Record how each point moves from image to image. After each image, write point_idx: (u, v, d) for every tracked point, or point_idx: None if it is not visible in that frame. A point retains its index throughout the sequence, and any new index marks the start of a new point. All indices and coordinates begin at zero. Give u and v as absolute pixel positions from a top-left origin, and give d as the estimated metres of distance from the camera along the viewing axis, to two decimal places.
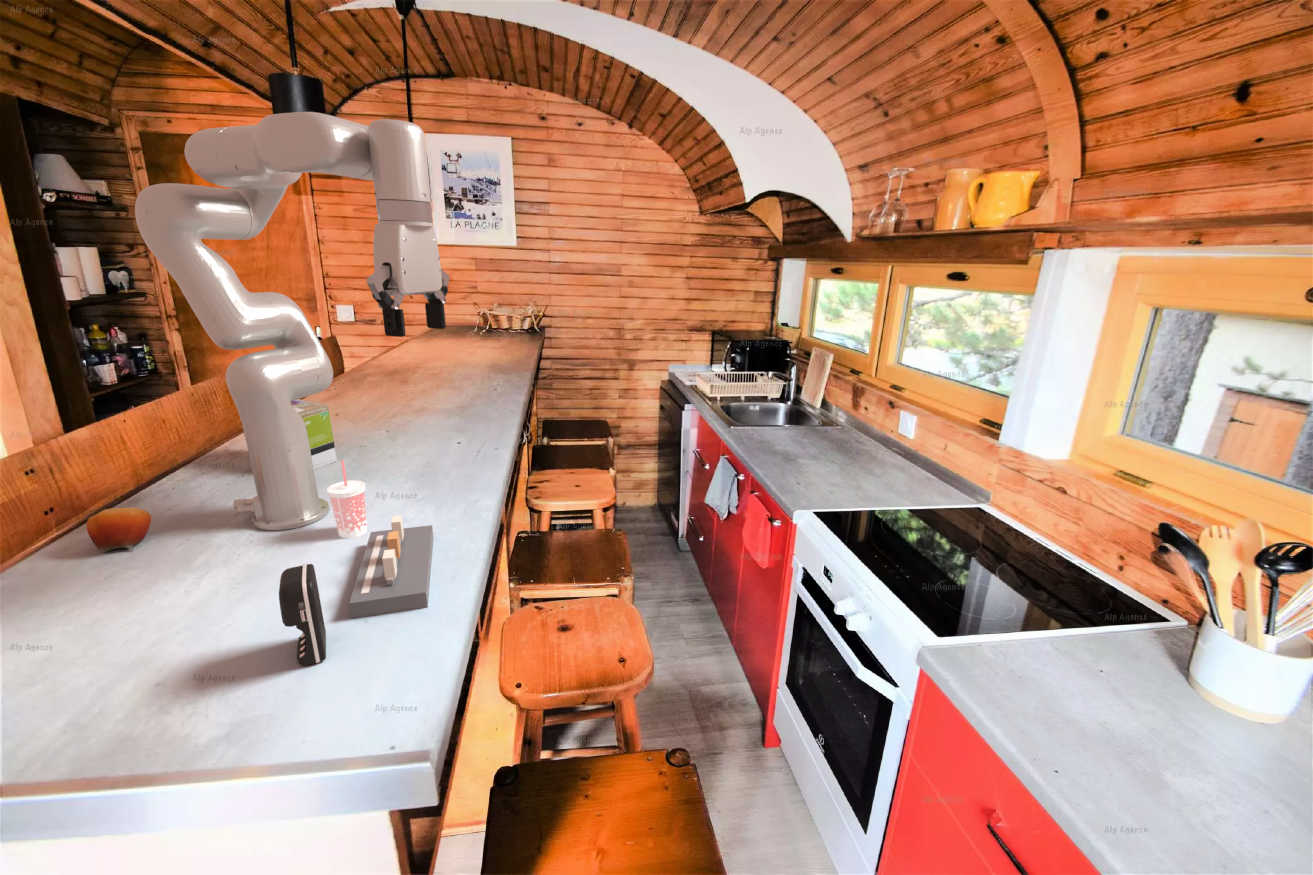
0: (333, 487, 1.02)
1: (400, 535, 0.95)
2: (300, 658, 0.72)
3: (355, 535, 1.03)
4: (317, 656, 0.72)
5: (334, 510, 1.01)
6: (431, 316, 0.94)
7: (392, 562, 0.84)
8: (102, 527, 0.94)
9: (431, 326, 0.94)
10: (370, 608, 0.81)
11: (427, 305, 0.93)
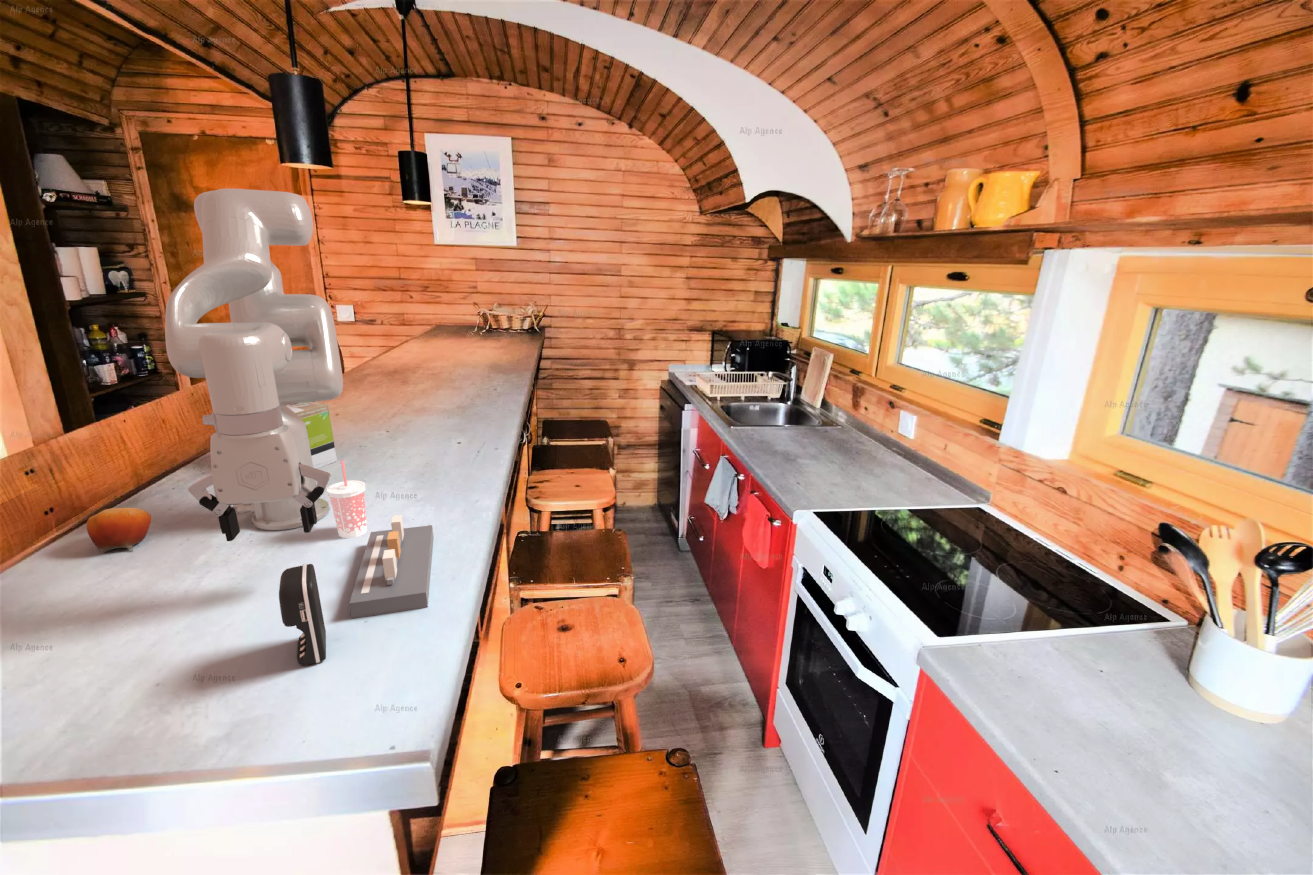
0: (332, 487, 1.02)
1: (400, 535, 0.95)
2: (300, 658, 0.72)
3: (355, 535, 1.03)
4: (317, 656, 0.72)
5: (334, 510, 1.01)
6: (232, 525, 0.82)
7: (392, 562, 0.84)
8: (102, 527, 0.94)
9: (234, 536, 0.82)
10: (370, 608, 0.81)
11: (229, 516, 0.81)
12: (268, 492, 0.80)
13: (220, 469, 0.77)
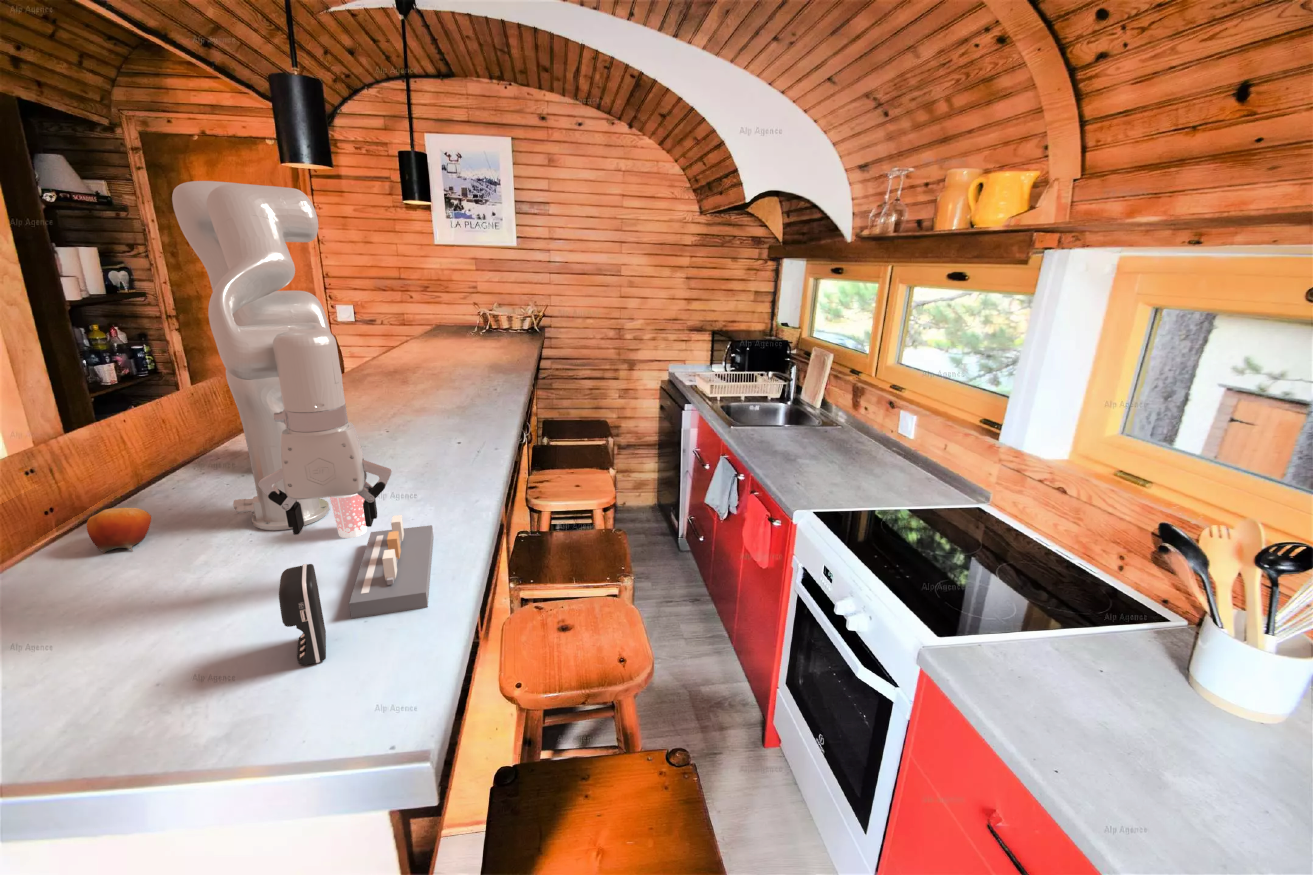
0: None
1: (400, 535, 0.95)
2: (300, 658, 0.72)
3: (355, 535, 1.03)
4: (317, 656, 0.72)
5: (334, 510, 1.01)
6: (298, 519, 0.85)
7: (392, 562, 0.84)
8: (102, 527, 0.94)
9: (300, 530, 0.85)
10: (370, 608, 0.81)
11: (295, 510, 0.84)
12: (334, 487, 0.83)
13: (290, 465, 0.80)
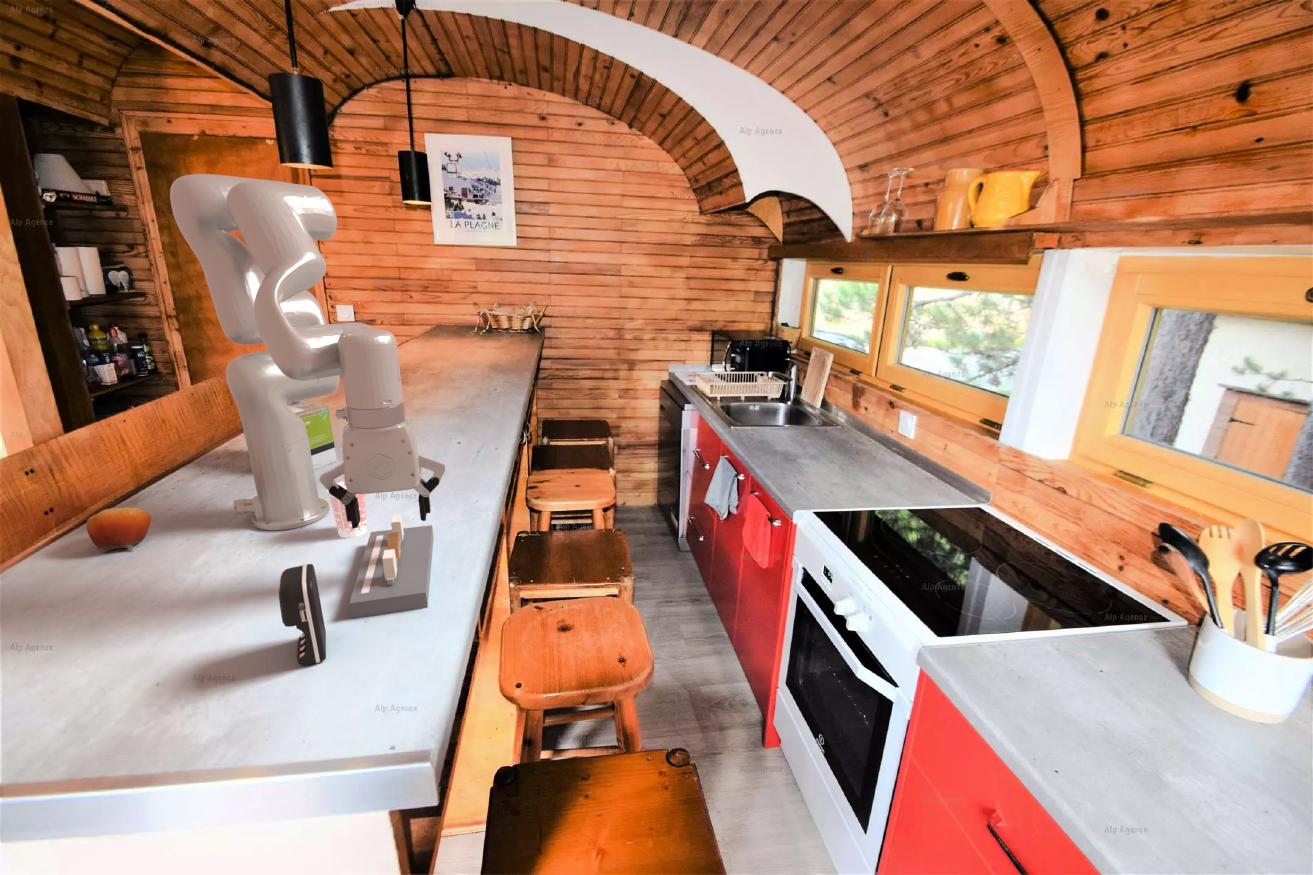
0: None
1: (400, 535, 0.95)
2: (300, 658, 0.72)
3: (355, 535, 1.03)
4: (317, 656, 0.72)
5: (334, 510, 1.01)
6: (356, 513, 0.87)
7: (392, 562, 0.84)
8: (102, 527, 0.94)
9: (358, 524, 0.87)
10: (370, 608, 0.81)
11: (354, 505, 0.86)
12: (393, 482, 0.85)
13: (352, 460, 0.82)
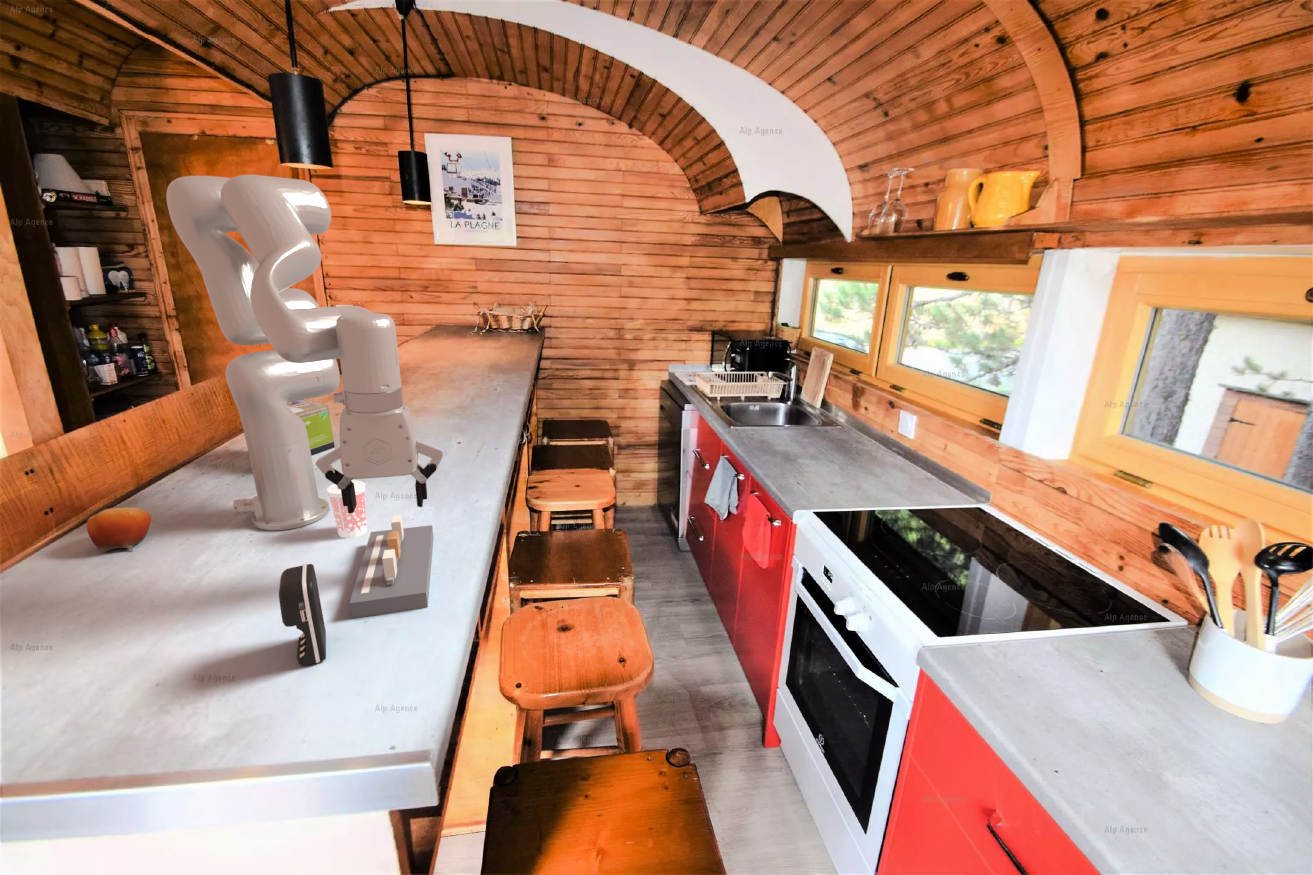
0: (333, 487, 1.02)
1: (400, 535, 0.95)
2: (300, 658, 0.72)
3: (355, 535, 1.03)
4: (317, 656, 0.72)
5: (334, 510, 1.01)
6: (353, 498, 0.87)
7: (392, 562, 0.84)
8: (102, 527, 0.94)
9: (354, 509, 0.87)
10: (370, 608, 0.81)
11: (351, 489, 0.85)
12: (390, 468, 0.84)
13: (349, 445, 0.82)
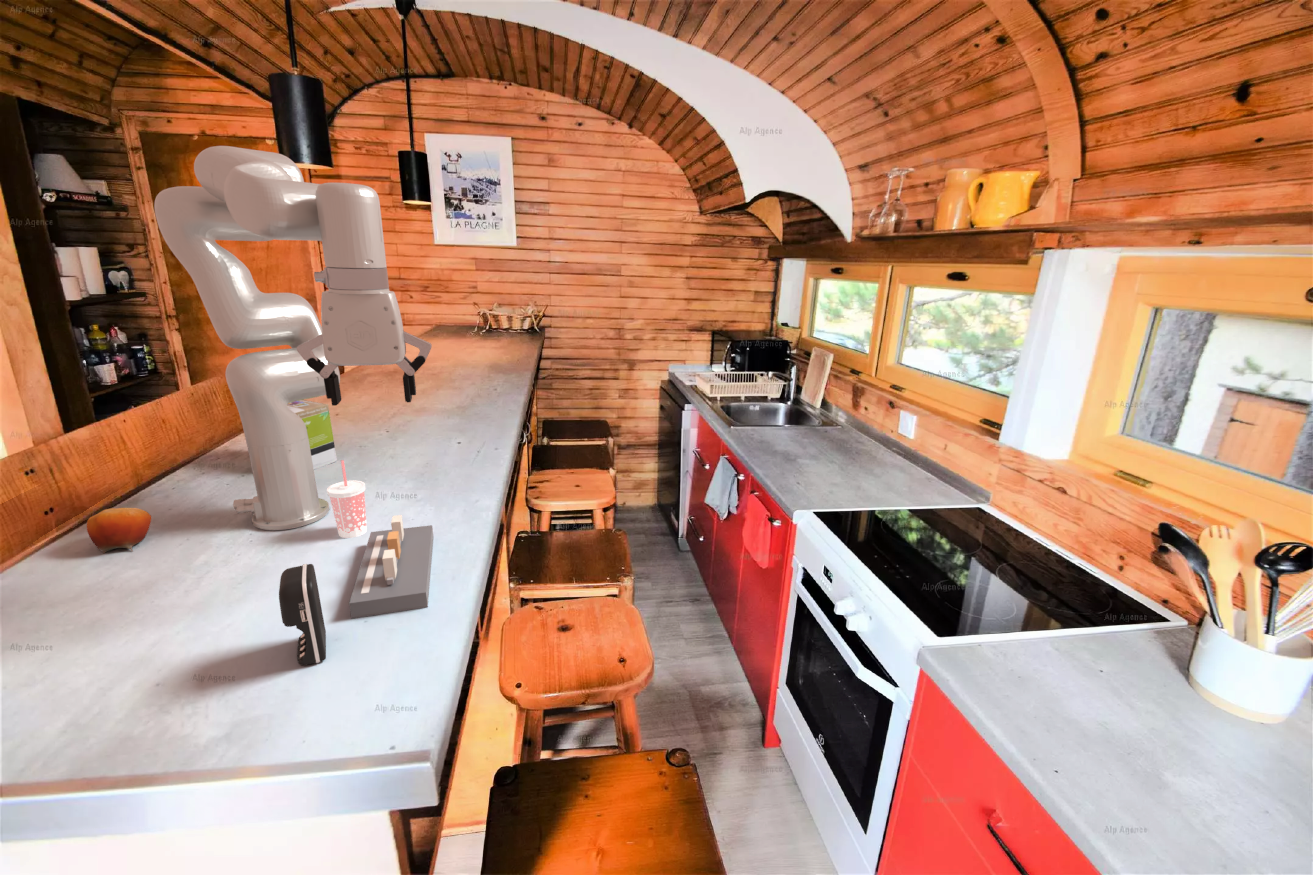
0: (333, 487, 1.02)
1: (400, 535, 0.95)
2: (300, 658, 0.72)
3: (355, 535, 1.03)
4: (317, 656, 0.72)
5: (334, 510, 1.01)
6: (337, 390, 0.82)
7: (392, 562, 0.84)
8: (102, 527, 0.94)
9: (338, 402, 0.82)
10: (370, 608, 0.81)
11: (334, 379, 0.81)
12: (375, 354, 0.80)
13: (331, 326, 0.77)
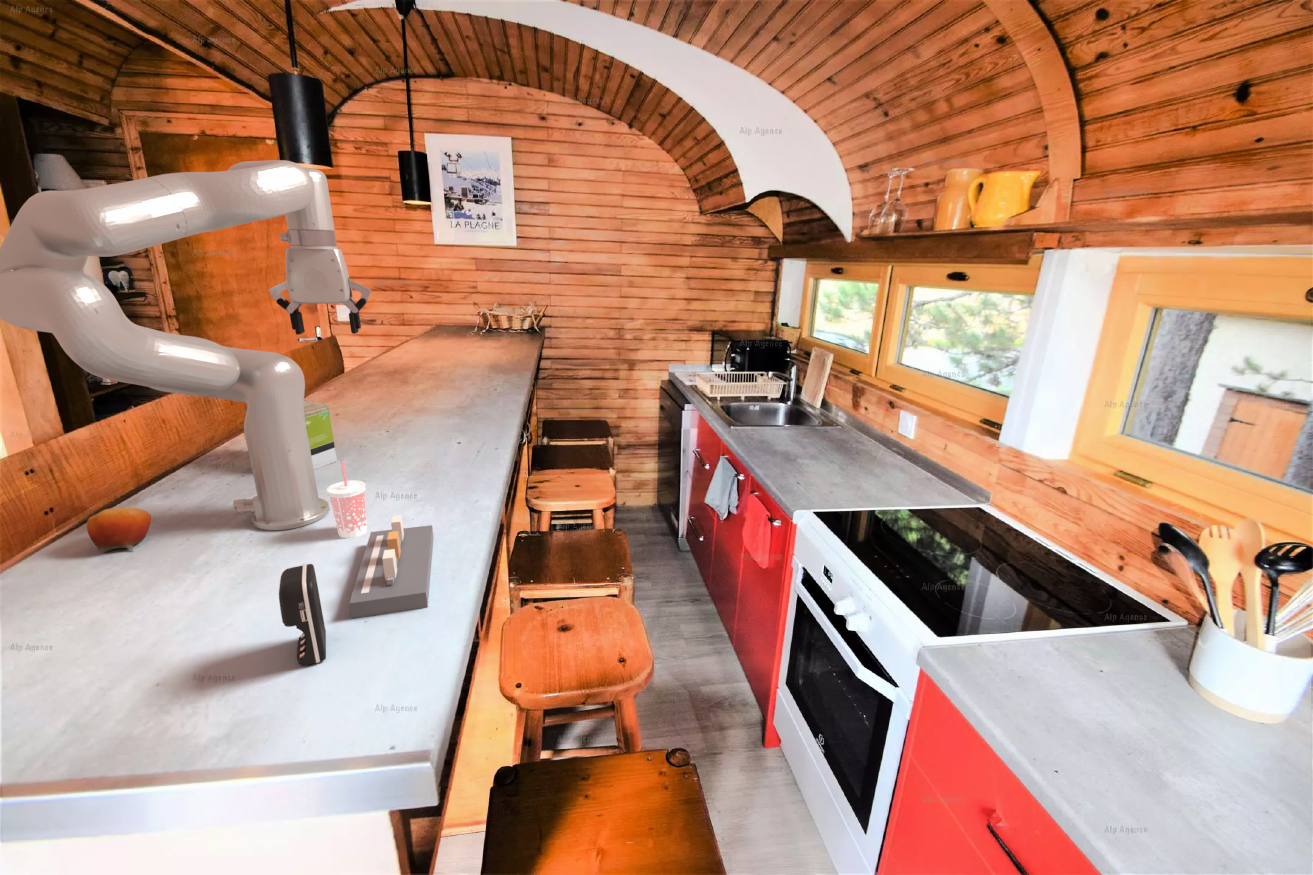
0: (333, 487, 1.02)
1: (400, 535, 0.95)
2: (300, 658, 0.72)
3: (355, 535, 1.03)
4: (317, 656, 0.72)
5: (334, 510, 1.01)
6: (300, 323, 1.10)
7: (392, 562, 0.84)
8: (102, 527, 0.94)
9: (301, 332, 1.10)
10: (370, 608, 0.81)
11: (297, 314, 1.09)
12: (326, 295, 1.08)
13: (292, 273, 1.05)
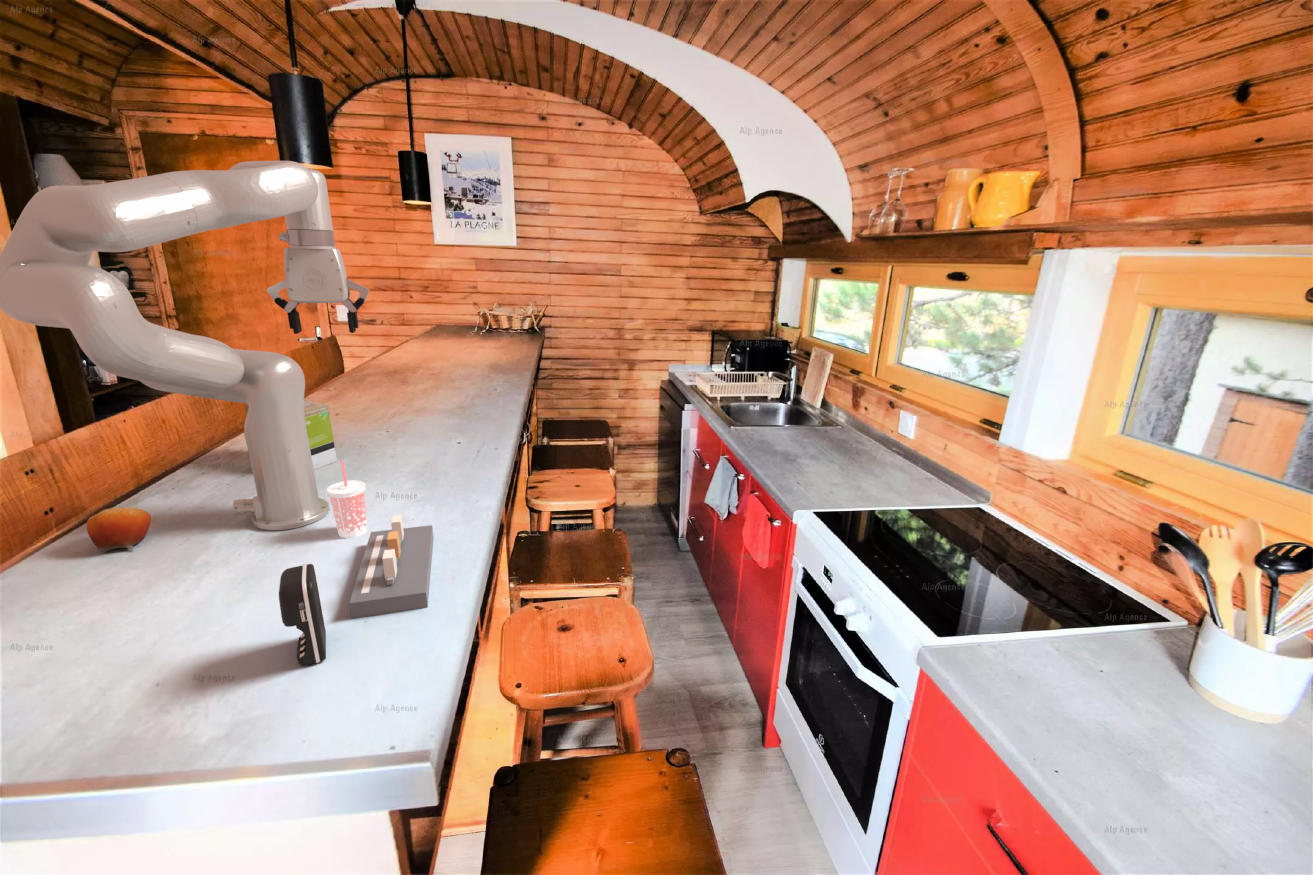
0: (332, 487, 1.02)
1: (400, 535, 0.95)
2: (300, 658, 0.72)
3: (355, 535, 1.03)
4: (317, 656, 0.72)
5: (334, 510, 1.01)
6: (297, 323, 1.11)
7: (392, 562, 0.84)
8: (102, 527, 0.94)
9: (299, 331, 1.11)
10: (370, 608, 0.81)
11: (295, 314, 1.10)
12: (325, 294, 1.09)
13: (291, 273, 1.06)
